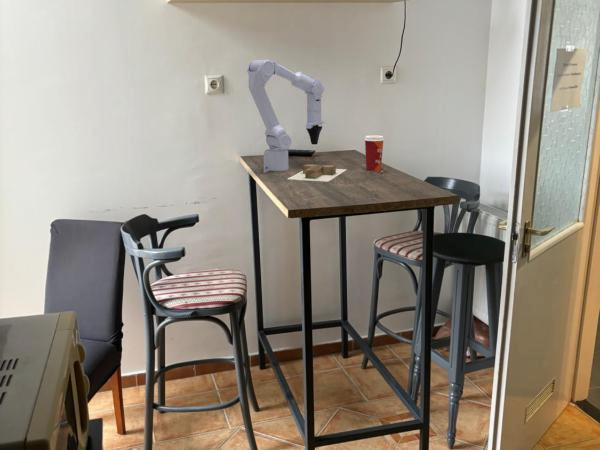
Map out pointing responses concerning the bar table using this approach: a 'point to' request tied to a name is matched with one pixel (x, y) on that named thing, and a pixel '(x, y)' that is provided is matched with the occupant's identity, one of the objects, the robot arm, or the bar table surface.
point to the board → (322, 178)
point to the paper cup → (373, 152)
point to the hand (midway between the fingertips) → (314, 144)
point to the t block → (318, 170)
